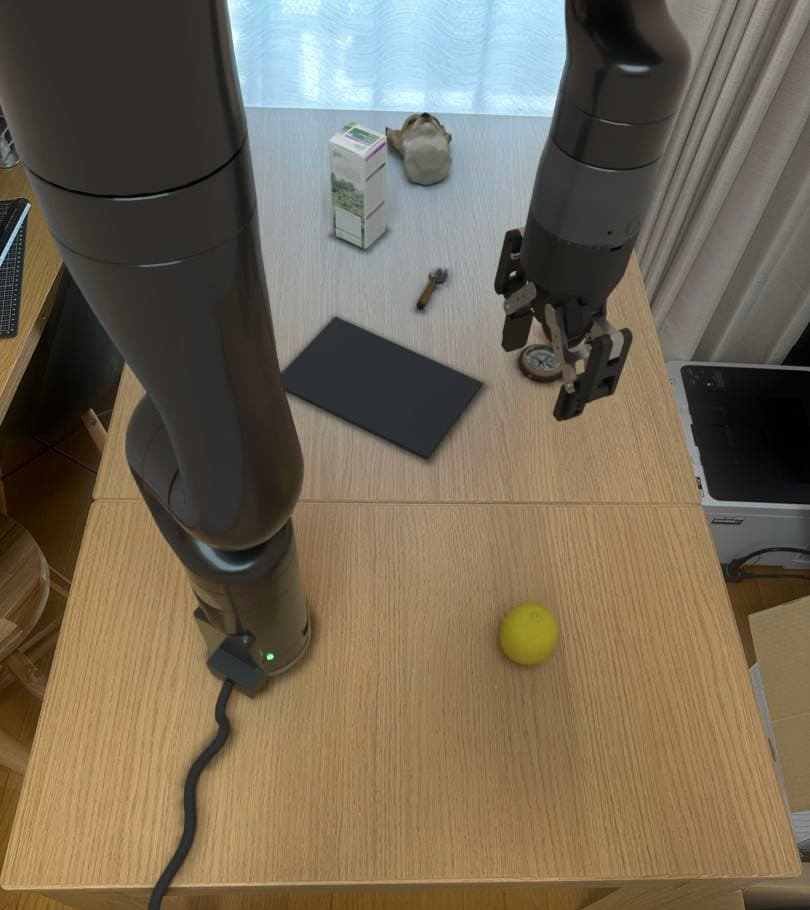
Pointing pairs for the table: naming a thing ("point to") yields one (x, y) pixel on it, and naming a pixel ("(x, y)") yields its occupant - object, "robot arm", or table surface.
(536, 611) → the lemon
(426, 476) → the table surface
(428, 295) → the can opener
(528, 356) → the compass
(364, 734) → the table surface
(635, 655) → the table surface
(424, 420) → the mat
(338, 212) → the syrup box
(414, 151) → the ceramic sculpture
